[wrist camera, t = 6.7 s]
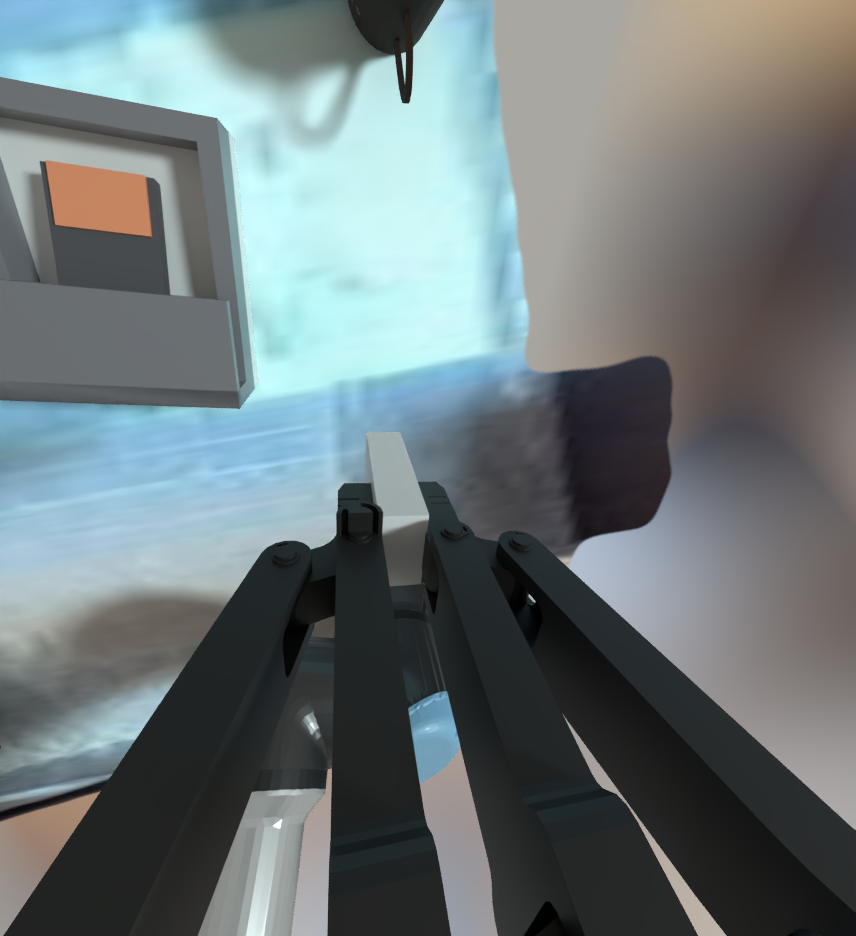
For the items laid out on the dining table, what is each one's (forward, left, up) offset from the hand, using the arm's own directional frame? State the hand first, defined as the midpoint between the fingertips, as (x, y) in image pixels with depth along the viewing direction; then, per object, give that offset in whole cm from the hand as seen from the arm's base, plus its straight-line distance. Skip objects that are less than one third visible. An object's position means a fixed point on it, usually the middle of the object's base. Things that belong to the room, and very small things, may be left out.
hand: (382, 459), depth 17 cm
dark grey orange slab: (+6, +19, -22) cm, 29 cm away
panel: (+6, +19, -26) cm, 33 cm away
